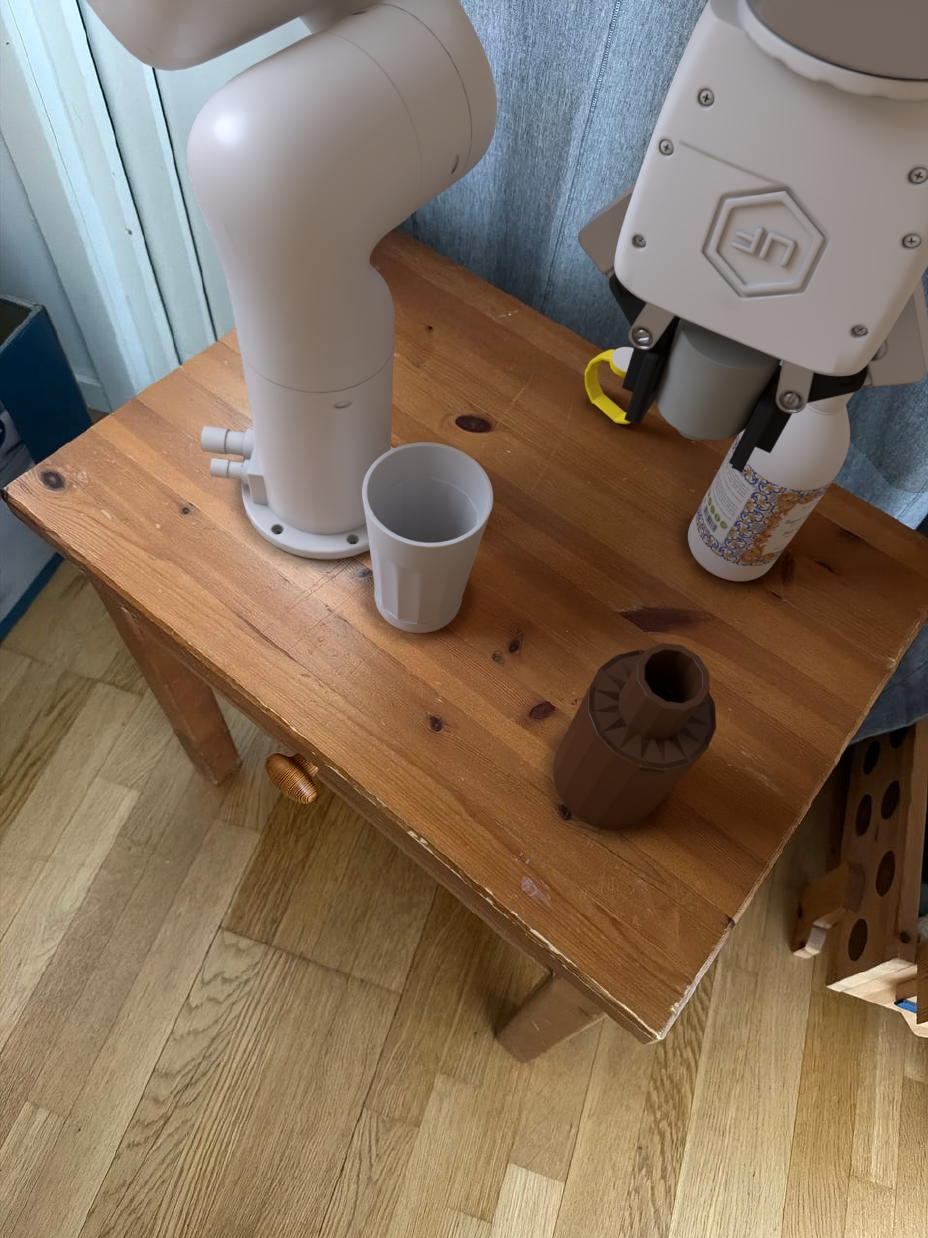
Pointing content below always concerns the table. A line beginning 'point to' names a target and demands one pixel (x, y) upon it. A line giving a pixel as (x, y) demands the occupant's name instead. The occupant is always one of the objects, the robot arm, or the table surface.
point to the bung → (711, 383)
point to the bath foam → (770, 493)
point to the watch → (618, 365)
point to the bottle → (635, 735)
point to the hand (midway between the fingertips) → (694, 423)
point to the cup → (424, 531)
